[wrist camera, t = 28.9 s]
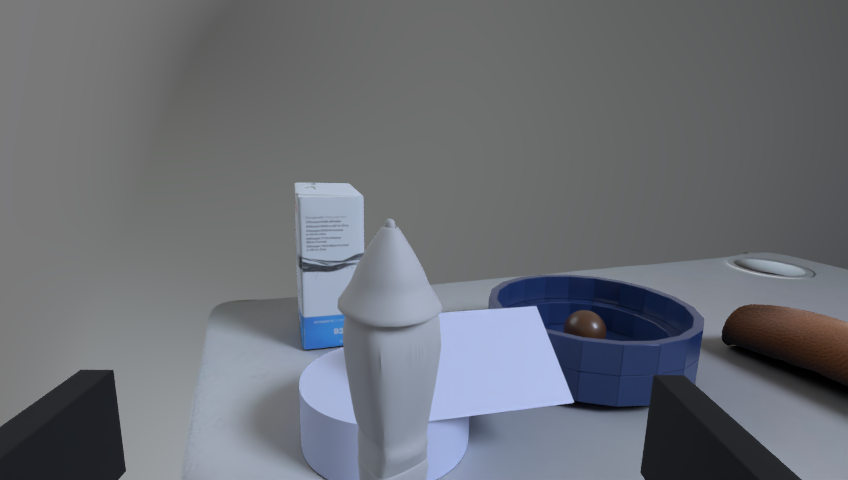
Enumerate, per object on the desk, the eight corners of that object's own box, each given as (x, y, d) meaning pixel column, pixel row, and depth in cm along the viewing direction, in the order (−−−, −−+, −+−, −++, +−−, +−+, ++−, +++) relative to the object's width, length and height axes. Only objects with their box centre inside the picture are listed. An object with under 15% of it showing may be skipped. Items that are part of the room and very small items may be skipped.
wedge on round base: (498, 377, 33) (300, 398, 30) (503, 282, 32) (296, 294, 28) (568, 463, 24) (302, 506, 21) (580, 338, 23) (297, 364, 20)
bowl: (453, 374, 33) (456, 312, 32) (524, 312, 45) (527, 265, 44) (687, 444, 26) (699, 367, 25) (698, 349, 38) (706, 294, 37)
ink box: (366, 345, 37) (365, 193, 35) (300, 351, 36) (294, 193, 34) (352, 307, 45) (350, 181, 43) (297, 311, 44) (293, 181, 42)
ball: (562, 301, 37) (594, 311, 38) (550, 339, 37) (582, 347, 38) (587, 310, 34) (620, 320, 35) (574, 351, 34) (608, 360, 35)
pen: (375, 742, 13) (373, 235, 10) (331, 656, 15) (317, 214, 12) (448, 681, 15) (466, 222, 11) (397, 610, 17) (401, 206, 13)
